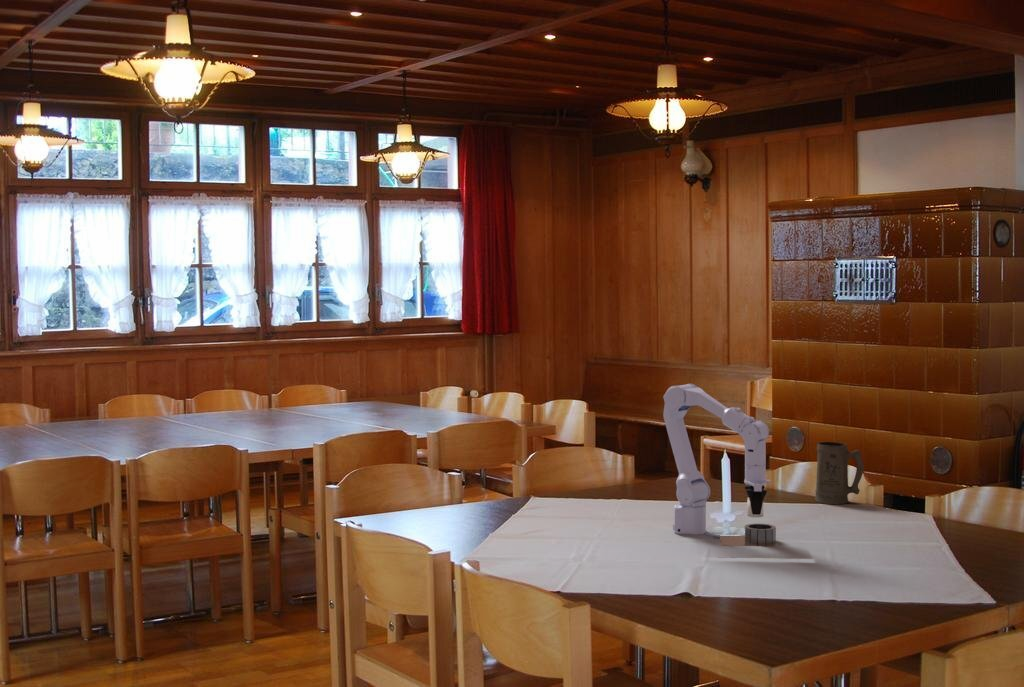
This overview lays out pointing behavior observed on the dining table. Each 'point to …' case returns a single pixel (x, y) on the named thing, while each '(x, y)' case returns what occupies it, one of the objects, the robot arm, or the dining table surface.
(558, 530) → the dining table surface
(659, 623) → the dining table surface
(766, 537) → the peg hole base
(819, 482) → the beer stein
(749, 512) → the cylindrical peg
